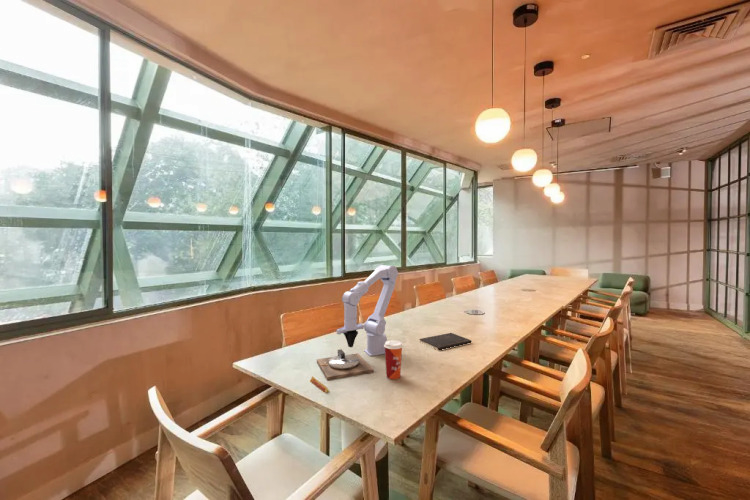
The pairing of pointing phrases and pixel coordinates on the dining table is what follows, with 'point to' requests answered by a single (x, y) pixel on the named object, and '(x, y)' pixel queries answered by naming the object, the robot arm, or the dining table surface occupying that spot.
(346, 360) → the dial
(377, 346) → the robot arm
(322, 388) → the chocolate bar
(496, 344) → the dining table surface
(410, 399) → the dining table surface
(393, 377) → the paper cup
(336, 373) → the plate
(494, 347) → the dining table surface
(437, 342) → the black spiral notebook
